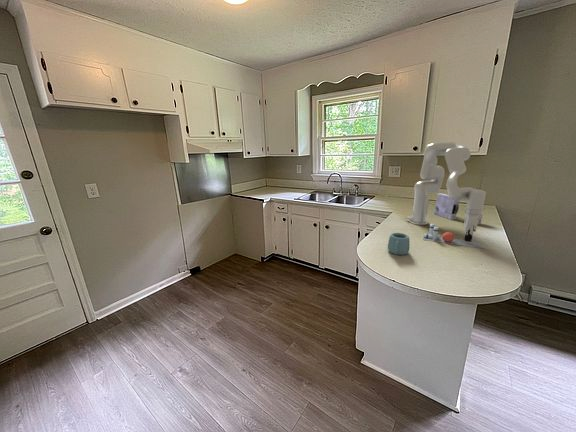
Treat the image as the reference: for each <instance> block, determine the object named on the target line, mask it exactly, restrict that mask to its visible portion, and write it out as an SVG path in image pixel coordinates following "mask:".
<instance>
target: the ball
mask: <svg viewBox="0 0 576 432" xmlns="http://www.w3.org/2000/svg"><path fill="white" fill-rule="evenodd" d="M441 237H442V238H443V240H444V241H446V242H451V241H453V240H454V239H455V236H454V234H453V233H452V232H449V231H448V232H444V233H442V236H441Z"/></svg>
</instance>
